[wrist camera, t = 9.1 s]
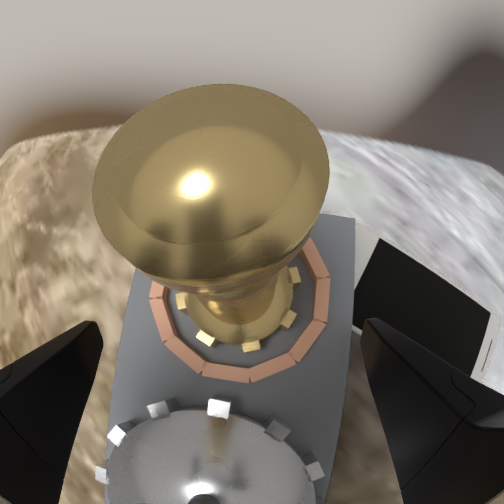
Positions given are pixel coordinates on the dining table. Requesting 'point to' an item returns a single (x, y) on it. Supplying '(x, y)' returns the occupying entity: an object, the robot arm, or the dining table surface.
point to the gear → (207, 459)
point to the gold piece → (216, 204)
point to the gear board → (254, 363)
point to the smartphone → (421, 304)
